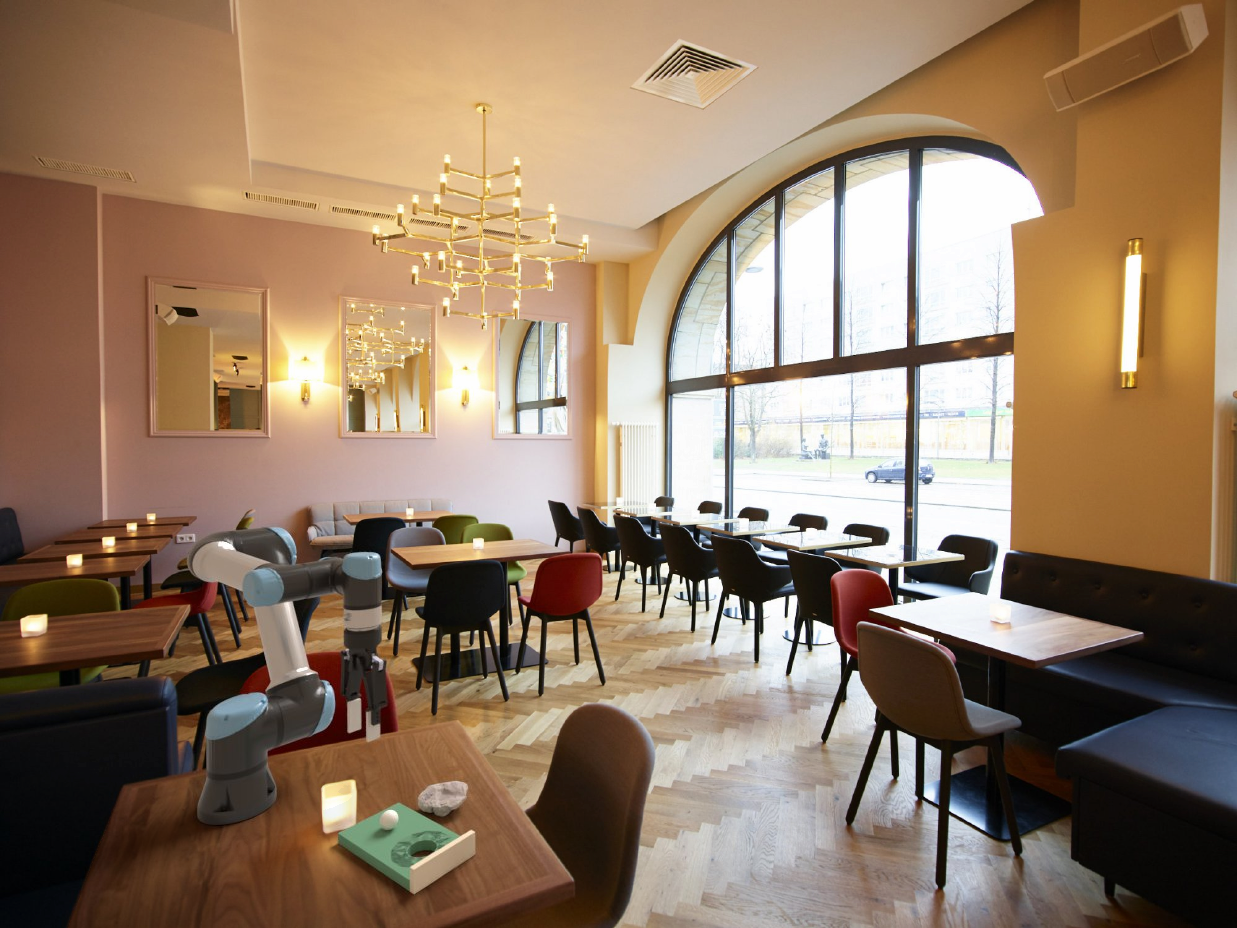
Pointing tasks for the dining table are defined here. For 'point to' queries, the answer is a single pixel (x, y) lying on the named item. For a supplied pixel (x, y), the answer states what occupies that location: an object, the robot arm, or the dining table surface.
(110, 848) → the dining table surface
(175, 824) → the dining table surface
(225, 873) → the dining table surface
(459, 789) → the fossil
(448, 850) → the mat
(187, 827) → the dining table surface
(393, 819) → the ball
